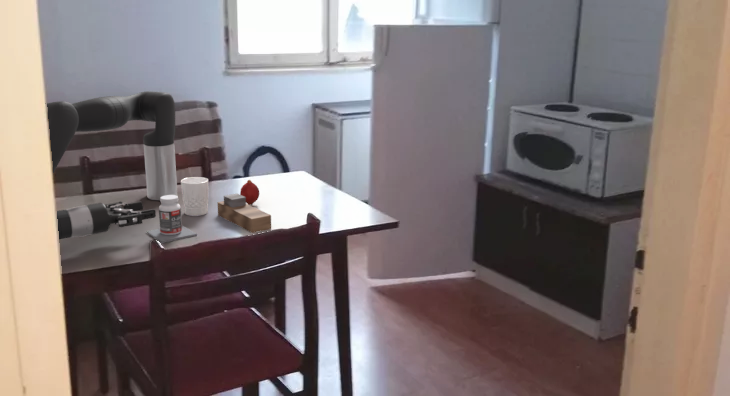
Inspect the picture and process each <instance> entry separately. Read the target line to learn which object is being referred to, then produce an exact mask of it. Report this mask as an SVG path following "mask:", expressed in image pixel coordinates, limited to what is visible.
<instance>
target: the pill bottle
mask: <svg viewBox="0 0 730 396" xmlns="http://www.w3.org/2000/svg"><path fill="white" fill-rule="evenodd" d="M159 201H160V203H161V204H160V205H159V206H158V215H159V216H158V218H159V229H160V232H161V234H163V235H176V234H179V233H181V231H182V225H183V224H182V211H181V210H182V209H181V205H180V203H179V196H178V195H177V196H176V195H165V196H162V197H160V200H159Z"/></svg>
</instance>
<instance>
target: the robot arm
mask: <svg viewBox="0 0 730 396" xmlns="http://www.w3.org/2000/svg"><path fill="white" fill-rule="evenodd" d="M47 107H48V119H49V129H50V140H51V151H52V161H53V173H54V174H55V171H56V169H57V167H58V166H59V163H60V162H61V159H62V158H63V156H64V154H65V152H66V150H67V149H68V147H69V145H70V143H71V141H72V139H73V138H74V137H75V134H76V132H77V133H79V132H100V131H101V132H102V131H108V130H114V129H118V128H122V127H123V126H125V125H126V124H127V123H128V122H130V121H142V122H143V121H144V122H153V123H154V122H155V126H154V127H155V128H154V130H152V131H150V132H147V133H145V134H144V135H143V137H142V142H143V154H144V168H145V182H146V196H147V199H149V200H151V201H160V197H162V196H165V195H176V196H178V181H177V168H176V165H177V163H176V151H175V149H176V148H175V135H176V104H175V100H174V97H173V96H172V94H170V93H168V92H163V91H153V90H152V91H150V90H149V91H142V92H139V93H134V94H131V95H127V96H122V95H113V96H110V95H109V96H107V95H106V96H99V97H94V98H90V99H86V100H85V99H84V100H81V101H78V102H74V103H70V102H68V101H64V100H62V101H61V100H60V101H58V100H57V101H53V102H47ZM143 208H144V205H143V201H140V200H139V201H134V202H123V201H117V202H111V203H106V204H104V203H103V202H96V203H90V204H84V205H78V206H73V207H69V208H66V209H61V210H56V211H57V219H58V231H59V240H60V241H61V240H65V239H71V238H80V237H85V236H91V235H97V234H101V233H106V232H108V231H109V230H110V226H111V224H112V225H113V224H115V225H117V226H118V228H123V227H130V226H136V225H142V224H143V220H144V221H145V220H150V219H155V218H156V217H157V215H156V214H157V211H156V210H155V208H151V209H145V210H143Z"/></svg>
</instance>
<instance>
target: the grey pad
mask: <svg viewBox="0 0 730 396" xmlns="http://www.w3.org/2000/svg"><path fill="white" fill-rule="evenodd" d="M146 232H147V233H148V234H147V233H146V234H147V235H149V236H150V235H151V237H152V238H153V239H154V240H156V239H157V240H156V241H158V240H159V241H158V242H159V243H161V244H163V243H168V242H172V241H176V240H182V239H186V238H191V237H197V235H198V234H197V233H196V232H195V231H193V230H191V229H189V227H186V226H184V225H183V224H182V231H181V233H179V234H176V235H163V234H161V232H160V228H157V229H156V228H155V229H152V230H146Z"/></svg>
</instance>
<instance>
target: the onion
mask: <svg viewBox="0 0 730 396" xmlns="http://www.w3.org/2000/svg"><path fill="white" fill-rule="evenodd" d="M239 194H240V195H242V196H244V197H246V204H248V205H250V206H252V205H253V204H254V203H256V202H257V201H258V199H259V197H260V190H259V188H258V186H257V185H256V183H254V182H253V181H252V180H251V179H248V180H247V182H245V183H244V184H243V185H242V186H241V188H240V193H239Z"/></svg>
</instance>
